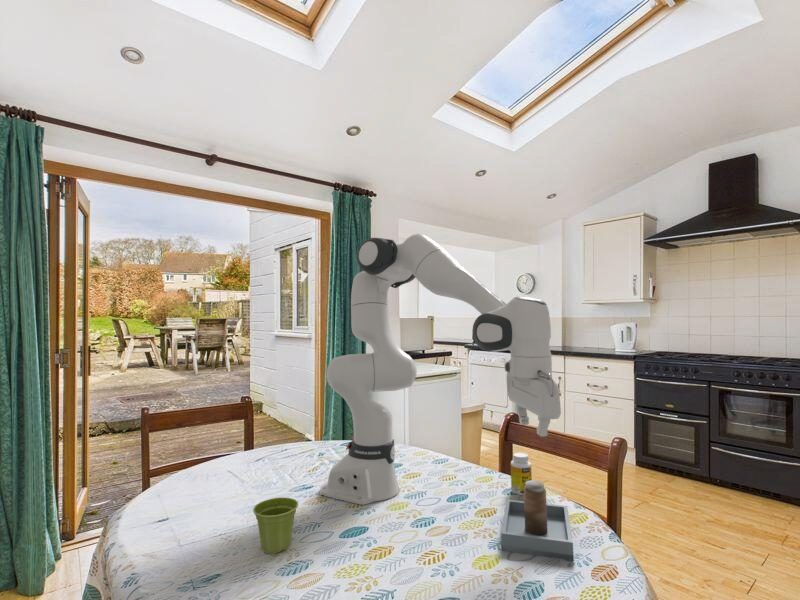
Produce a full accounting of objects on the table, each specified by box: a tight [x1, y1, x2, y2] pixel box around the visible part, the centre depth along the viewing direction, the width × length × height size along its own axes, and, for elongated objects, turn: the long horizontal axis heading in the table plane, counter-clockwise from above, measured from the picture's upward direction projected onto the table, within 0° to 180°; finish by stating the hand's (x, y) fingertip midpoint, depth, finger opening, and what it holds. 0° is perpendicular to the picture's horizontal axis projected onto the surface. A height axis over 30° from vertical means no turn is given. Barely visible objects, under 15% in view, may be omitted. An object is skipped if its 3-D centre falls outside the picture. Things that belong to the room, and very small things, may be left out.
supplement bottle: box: [510, 452, 533, 496], centre depth 118 cm, size 6×6×10 cm
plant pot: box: [252, 497, 299, 554], centre depth 93 cm, size 9×9×9 cm
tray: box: [500, 499, 574, 561], centre depth 95 cm, size 14×17×4 cm
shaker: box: [523, 479, 548, 536], centre depth 95 cm, size 5×5×10 cm
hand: (532, 429), depth 96 cm, fingers open, 8 cm apart
